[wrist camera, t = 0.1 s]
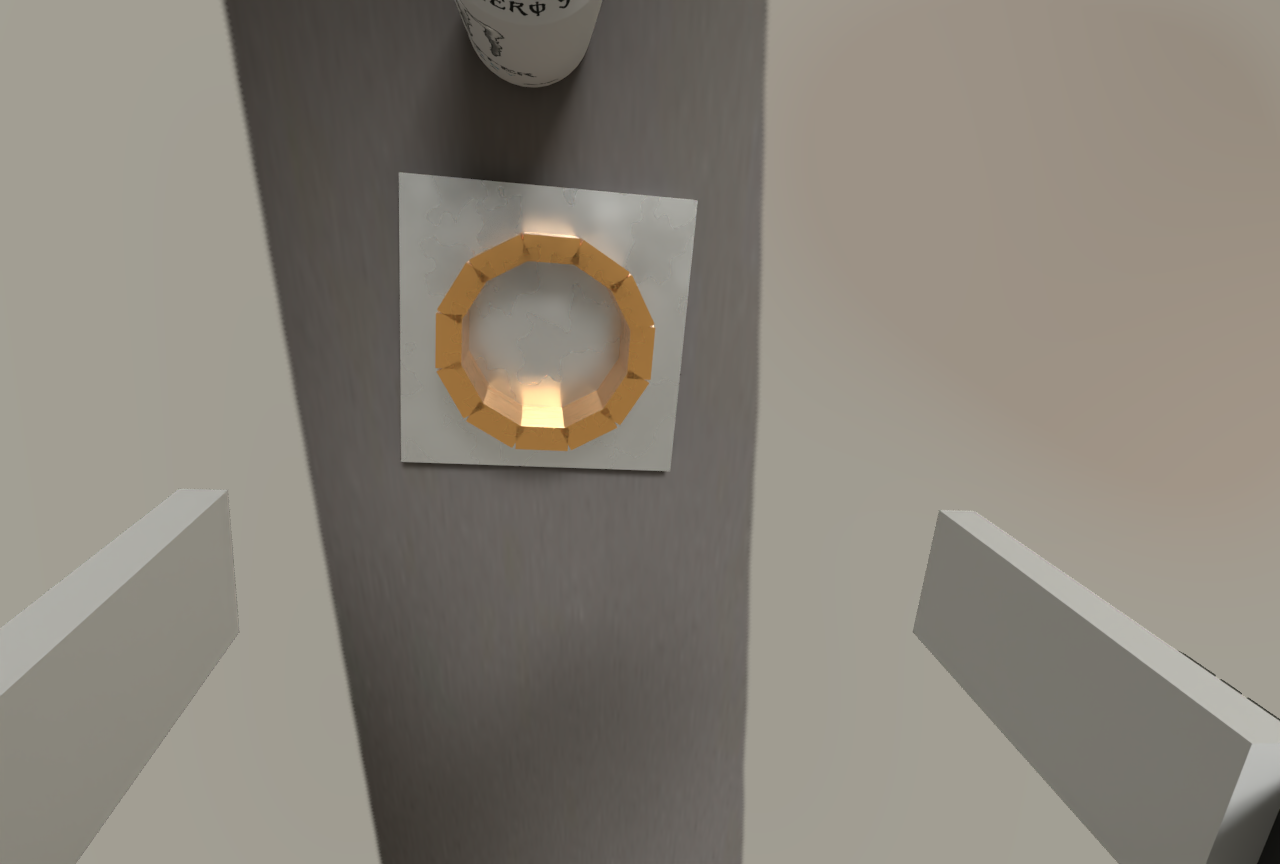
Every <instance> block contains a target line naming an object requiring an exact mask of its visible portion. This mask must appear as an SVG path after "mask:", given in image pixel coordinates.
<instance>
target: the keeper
mask: <svg viewBox="0 0 1280 864" xmlns="http://www.w3.org/2000/svg"><path fill="white" fill-rule="evenodd" d="M697 203H698V200H689V199H679V198H668V197H657V196H647V195H636V194H625V193H615V192H604V191H593V190H583V189H572V188H562V187H551V186H540V185H530V184H519V183H508V182H498V181H487V180H476V179H466V178H455V177H444V176H434V175H423V174H412V173H402V172H399V249H400V373H401V462H421V463H450V464H478V465H507V466H535V467H564V468H592V469H621V470H649V471H670V467H671V457H672V447H673V437H674V428H675V418H676V408H677V398H678V389H679V379H680V369H681V359H682V350H683V340H684V330H685V320H686V310H687V301H688V291H689V281H690V271H691V262H692V252H693V242H694V232H695V223H696V213H697Z"/></svg>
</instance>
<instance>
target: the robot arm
mask: <svg viewBox="0 0 1280 864" xmlns="http://www.w3.org/2000/svg"><path fill="white" fill-rule="evenodd" d="M238 633H239V621H238V609H237V597H236V584H235V572H234V560H233V547H232V535H231V523H230V511H229V499H228V490H211V489H178V490H177V491H175V492H174V493H173V494H172V495H170V496H169V497H168V498H167V499H165V500H164V501H163V502H161V503H160V504H159V505H157V506H156V507H155V508H154V509H152V510H151V511H150V512H148V513H147V514H146V515H145V516H143V517H142V518H141V519H140V520H138V521H137V522H136V523H134V524H133V525H132V526H131V527H129V528H128V529H127V530H125V531H124V532H123V533H122V534H120V535H119V536H118V537H116V538H115V539H114V540H113V541H111V542H110V543H109V544H108V545H106V546H105V547H104V548H102V549H101V550H100V551H98V552H97V553H96V554H95V555H93V556H92V557H91V558H89V559H88V560H87V561H86V562H84V563H83V564H82V565H80V566H79V567H78V568H77V569H75V570H74V571H73V572H71V573H70V574H69V575H68V576H66V577H65V578H64V579H62V580H61V581H60V582H59V583H57V584H56V585H55V586H53V587H52V588H51V589H50V590H48V591H47V592H46V593H44V594H43V595H42V596H41V597H39V598H38V599H37V600H35V601H34V602H33V603H32V604H30V605H29V606H28V607H26V608H25V609H24V610H23V611H21V612H20V613H19V614H17V615H16V616H15V617H14V618H12V619H11V620H10V621H8V622H7V623H6V624H5V625H3V626H2V627H1V628H0V864H76V862H77V861H78V860H79V858H80V857H81V856H82V854H83V853H84V851H85V850H86V848H87V847H88V846H89V844H90V843H91V841H92V840H93V839H94V837H95V836H96V834H97V833H98V831H99V830H100V828H101V827H102V826H103V824H104V823H105V822H106V820H107V819H108V817H109V816H110V814H111V813H112V812H113V810H114V809H115V807H116V806H117V804H118V803H119V802H120V800H121V799H122V797H123V796H124V795H125V793H126V792H127V790H128V789H129V788H130V786H131V785H132V783H133V782H134V780H135V779H136V778H137V776H138V775H139V773H140V772H141V771H142V769H143V768H144V766H145V765H146V763H147V762H148V761H149V759H150V758H151V756H152V755H153V753H154V752H155V751H156V749H157V748H158V746H159V745H160V744H161V742H162V741H163V739H164V738H165V737H166V735H167V734H168V732H169V731H170V729H171V728H172V727H173V725H174V724H175V722H176V721H177V720H178V718H179V717H180V715H181V714H182V712H183V711H184V710H185V708H186V707H187V705H188V704H189V703H190V701H191V700H192V698H193V697H194V696H195V694H196V693H197V691H198V690H199V688H200V687H201V685H202V684H203V683H204V681H205V680H206V679H207V677H208V676H209V674H210V673H211V671H212V670H213V669H214V667H215V666H216V664H217V663H218V661H219V660H220V659H221V657H222V656H223V654H224V653H225V652H226V650H227V649H228V647H229V646H230V645H231V643H232V642H233V640H234V639H235V637H236V636H237V635H238ZM913 633H914V634H915V635H916V636H917V637H918V639H919V640H920V641H921V642H922V643H923V644H924V645H925V646H926V648H927V649H928V650H929V651H930V652H931V653H932V654H933V655H934V657H935V658H936V659H937V660H938V661H939V662H940V663H941V664H942V665H943V667H944V668H945V669H946V670H947V671H948V672H949V673H950V674H951V676H952V677H953V678H954V679H955V680H956V681H957V682H958V684H960V686H961V687H962V688H963V689H964V690H965V691H966V692H967V694H968V695H969V696H970V697H971V698H972V699H973V700H974V702H975V703H976V704H977V705H978V706H979V707H980V708H981V709H982V711H983V712H984V713H985V714H986V715H987V716H988V717H989V718H990V719H991V721H992V722H993V723H994V724H995V725H996V726H997V727H998V729H999V730H1000V731H1001V732H1002V733H1003V734H1004V735H1005V736H1006V738H1007V739H1008V740H1009V741H1010V742H1011V743H1012V744H1013V745H1014V746H1015V748H1016V749H1017V750H1018V751H1019V752H1020V753H1021V754H1022V756H1023V757H1024V758H1025V759H1026V760H1027V761H1028V762H1029V763H1030V765H1031V766H1032V767H1033V768H1034V769H1035V770H1036V771H1037V772H1038V773H1039V775H1040V776H1041V777H1042V778H1043V779H1044V780H1045V781H1046V783H1047V784H1048V785H1049V786H1050V787H1051V788H1052V789H1053V790H1054V791H1055V793H1056V794H1057V795H1058V796H1059V797H1060V798H1061V799H1062V800H1063V802H1064V803H1065V804H1066V805H1067V806H1068V807H1069V808H1070V810H1071V811H1072V812H1073V813H1074V814H1075V815H1076V816H1077V817H1078V818H1079V820H1080V821H1081V822H1082V823H1083V824H1084V825H1085V826H1086V827H1087V829H1088V830H1089V831H1090V832H1091V833H1092V834H1093V835H1094V837H1095V838H1096V839H1097V840H1098V841H1099V842H1100V843H1101V844H1102V846H1103V847H1104V848H1105V849H1106V850H1107V851H1108V852H1109V853H1110V854H1111V856H1112V857H1113V858H1114V859H1115V860H1116V861H1117V862H1118V863H1119V864H1280V719H1279V718H1277V717H1276V716H1274V715H1273V714H1271V713H1270V712H1269V711H1267V710H1266V709H1264V708H1263V707H1261V706H1260V705H1258V704H1257V703H1255V702H1254V701H1253V700H1251V699H1250V698H1246V697H1244V696H1243V695H1242V693H1241V692H1239V691H1238V690H1237V689H1235V688H1234V687H1232V686H1231V685H1229V684H1228V683H1226V682H1225V681H1223V680H1222V679H1218V678H1216V677H1215V674H1213V673H1212V672H1210V671H1209V670H1207V669H1206V668H1204V667H1203V666H1202V665H1200V664H1199V663H1197V662H1196V661H1194V660H1193V659H1191V658H1190V657H1188V656H1187V655H1186V654H1184V653H1182V652H1180V651H1178V650H1176V649H1174V648H1173V647H1172V646H1170V645H1169V644H1167V643H1166V642H1164V641H1163V640H1161V639H1160V638H1158V637H1157V636H1155V635H1154V634H1153V633H1151V632H1150V631H1148V630H1147V629H1145V628H1144V627H1142V626H1141V625H1140V624H1138V623H1136V622H1135V621H1134V620H1132V619H1131V618H1129V617H1128V616H1127V615H1125V614H1124V613H1122V612H1121V611H1119V610H1118V609H1116V608H1115V607H1113V606H1112V605H1111V604H1109V603H1108V602H1106V601H1105V600H1103V599H1102V598H1100V597H1099V596H1097V595H1096V594H1095V593H1093V592H1092V591H1090V590H1089V589H1087V588H1086V587H1084V586H1083V585H1081V584H1080V583H1079V582H1077V581H1076V580H1074V579H1073V578H1071V577H1070V576H1068V575H1067V574H1066V573H1064V572H1063V571H1061V570H1059V569H1058V568H1057V567H1055V566H1054V565H1052V564H1051V563H1050V562H1048V561H1047V560H1045V559H1043V558H1042V557H1041V556H1039V555H1038V554H1036V553H1035V552H1034V551H1032V550H1031V549H1029V548H1028V547H1026V546H1025V545H1023V544H1022V543H1020V542H1019V541H1018V540H1016V539H1015V538H1013V537H1012V536H1010V535H1009V534H1007V533H1006V532H1005V531H1003V530H1002V529H1000V528H999V527H997V526H996V525H994V524H993V523H991V522H990V521H989V520H987V519H986V518H984V517H983V516H981V515H980V514H978V513H977V512H975V511H960V510H939V514H938V518H937V522H936V527H935V532H934V537H933V541H932V546H931V550H930V555H929V559H928V564H927V569H926V573H925V578H924V583H923V587H922V592H921V596H920V601H919V605H918V610H917V615H916V620H915V624H914V629H913Z"/></svg>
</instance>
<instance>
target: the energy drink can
mask: <svg viewBox="0 0 1280 864" xmlns="http://www.w3.org/2000/svg"><path fill="white" fill-rule="evenodd" d="M602 1H603V0H455V3H456V5H457V8H458V11H459V13H460V16H461V18H462V21H463V23H464V26H465V28H466V31H467V33H468V36H469V38H470V41H471V43H472V46H473V48H474V50H475V51H476V53H477V55H478V56H479V58H480V59H481V61H482V62H483V63H484V64H485V65H486V66H487V67H488V68H489V69H490V70H491V71H492V72H493V73H495V74H496V75H497V76H499V77H500V78H502V79H504V80H506V81H508V82H510V83H512V84H515V85H519V86H523V87H535V88H536V87H543V86H548V85H551V84H553V83H556V82H559V81H560V80H562V79H563V78H565V77H566V76H568V75H569V74H570V73H571V72H572V71H573V70H574V69H575V68H576V67H577V66H578V65H579V63H580V62H581V60H582V58H583V57H584V55H585V53H586V51H587V48H588V45H589V43H590V40H591V36H592V33H593V30H594V27H595V24H596V20H597V17H598V14H599V11H600V7H601V4H602Z"/></svg>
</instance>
